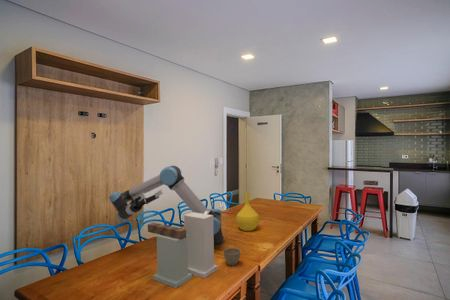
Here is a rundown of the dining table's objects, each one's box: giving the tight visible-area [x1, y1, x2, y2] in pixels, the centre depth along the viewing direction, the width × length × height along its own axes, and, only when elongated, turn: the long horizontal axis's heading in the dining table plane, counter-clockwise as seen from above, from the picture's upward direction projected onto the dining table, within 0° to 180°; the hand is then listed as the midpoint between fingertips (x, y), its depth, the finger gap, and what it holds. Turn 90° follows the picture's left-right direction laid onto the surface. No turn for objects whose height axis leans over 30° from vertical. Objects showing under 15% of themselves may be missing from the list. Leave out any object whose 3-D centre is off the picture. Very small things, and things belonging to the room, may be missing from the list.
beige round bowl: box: [222, 247, 242, 266], centre depth 153 cm, size 10×10×7 cm
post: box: [152, 234, 193, 289], centre depth 136 cm, size 16×12×22 cm
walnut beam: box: [147, 222, 186, 240], centre depth 138 cm, size 24×4×4 cm, turn 57°
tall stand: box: [183, 212, 219, 279], centre depth 145 cm, size 16×12×30 cm
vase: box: [235, 192, 260, 232], centre depth 216 cm, size 18×18×30 cm
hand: (153, 193), depth 162 cm, fingers open, 13 cm apart
